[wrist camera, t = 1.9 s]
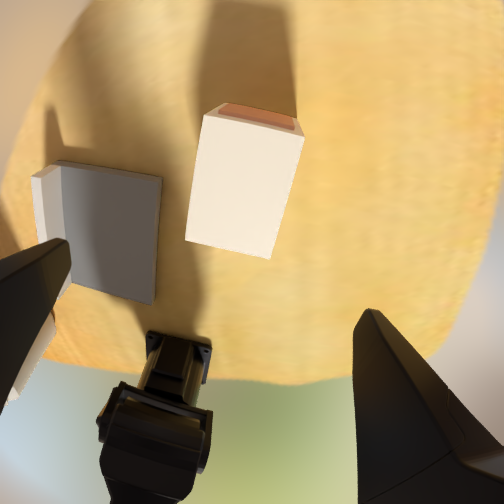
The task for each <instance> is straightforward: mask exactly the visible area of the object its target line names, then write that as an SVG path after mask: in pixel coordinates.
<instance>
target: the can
mask: <svg viewBox="0 0 504 504" xmlns="http://www.w3.org/2000/svg"><path fill="white" fill-rule="evenodd" d="M55 334H56V326H55V323H54V318H53V315H52V313H51V312H50V314H49V315H48V317H47V319H46V321H45V323H44V324H43V326H42V328H41V330H40V332H39V334H38V336H37V337H36V339H35V341H34V343H33V345H32V347H31V349H30V351H29V353H28V355H27V357H26V359H25V361H24V363H23V365H22V367H21V369H20V371H19V373H18V376H17V378H16V380H15V382H14V384H13V387H12V389H11V391H10V393H9V396H8V398H7V400H6V403H5V405H4V406H7V405H8V401H10V400H15V399H18V398H19V396H20V394H21V392H22V390H23V389H24V387H25V385H26V383H27V381H28V380H29V378H30V376H31V374H32V373H33V371H34V369H35V367H36V366H37V364H38V362H39V361H40V359H41V357H42V356H43V354H44V352H45V351H46V349H47V347H48V346H49V344H50V342H51V341H52V339H53V338H54V336H55Z"/></svg>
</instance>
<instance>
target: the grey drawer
mask: <svg viewBox="0 0 504 504" xmlns="http://www.w3.org/2000/svg"><path fill="white" fill-rule="evenodd" d="M162 182H163V177H157V176H152V175H146V174H141V173H135V172H130V171H124V170H118V169H112V168H106V167H100V166H93V165H87V164H81V163H74V162H67V161H60V160H58V161H56V162H54V163H52V164H51V165H49V166H47V167H46V168H44V169H42V170H41V171H39V172H37V173H36V174H34V175H32V176H31V185H32V196H33V206H34V214H35V222H36V229H37V235H38V242H39V244H41V243H43V242H46V241H48V240H51V239H54V238H62V239H65V240H67V241H68V242H69V245H70V253H71V261H72V266H71V270H70V272H69V274H68V276H67V278H66V280H65V282H64V284H63V286H62V289H61V291H60V293H59V295H58V297H57V300H59V299H60V298H61V296H62V295H63V294H64V292H65V291H66V290H67V288H68V287H69V286H70V284H71V283H75V284H78V285H81V286H85V287H88V288H91V289H94V290H98V291H101V292H105V293H108V294H112V295H115V296H119V297H122V298H126V299H129V300H133V301H137V302H140V303H144V304H148V305H152V304H153V302H154V299H155V287H156V262H157V243H158V228H159V215H160V203H161V192H162Z"/></svg>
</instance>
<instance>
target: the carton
mask: <svg viewBox="0 0 504 504" xmlns="http://www.w3.org/2000/svg"><path fill="white" fill-rule="evenodd" d="M304 140H305V136H304V133H303V131H302V129H301V127H300V124H299V122H298V120H297V119H296V118H292V117H291V116H287V115H283V114H279V113H275V112H271V111H266V110H262V109H257V108H253V107H248V106H243V105H238V104H233V103H223V104H222V105H220V106H218V107H216V108H215V109H213V110H211V111H210V112H208V113H206V114H205V115H204V117H203V122H202V128H201V133H200V139H199V145H198V151H197V157H196V163H195V170H194V176H193V183H192V190H191V197H190V204H189V211H188V218H187V226H186V234H185V240H186V241H191V242H195V243H199V244H204V245H208V246H213V247H217V248H222V249H226V250H231V251H235V252H239V253H244V254H248V255H253V256H257V257H262V258H266V259H270V257H271V254H272V250H273V247H274V244H275V240H276V237H277V234H278V230H279V227H280V223H281V220H282V216H283V213H284V210H285V206H286V203H287V199H288V196H289V192H290V189H291V185H292V182H293V178H294V175H295V171H296V168H297V164H298V161H299V157H300V154H301V150H302V147H303V143H304Z"/></svg>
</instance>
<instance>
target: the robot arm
mask: <svg viewBox="0 0 504 504" xmlns="http://www.w3.org/2000/svg"><path fill="white" fill-rule="evenodd" d="M71 266H72V261H71V253H70V245H69V242H68V241H67V240H65V239H62V238H54V239H51V240H48V241H46V242H43V243H41V244H38V245H35V246H33V247H30V248H28V249H25V250H23V251H20V252H18V253H16V254H13V255H11V256H8V257H6V258H4V259H1V260H0V415H1V413H2V410H3V408H4V405H5V403H6V400H7V398H8V396H9V393H10V391H11V389H12V387H13V384H14V382H15V380H16V378H17V376H18V373H19V371H20V369H21V367H22V365H23V363H24V361H25V359H26V357H27V355H28V353H29V351H30V349H31V347H32V345H33V343H34V341H35V339H36V337H37V336H38V334H39V332H40V330H41V328H42V326H43V324H44V323H45V321H46V319H47V317H48V315H49V314H50V312H51V310H52V308H53V306H54V304H55V302H56V299H57V297H58V295H59V293H60V291H61V289H62V286H63V284H64V282H65V280H66V278H67V276H68V274H69V272H70V270H71ZM211 353H212V347H211V346H209V345H206V344H201V343H197V342H193V341H189V340H184V339H180V338H176V337H172V336H168V335H165V334H161V333H157V332H153V331H148V332H147V334H146V355H147V362H146V364H145V367H144V370H143V372H142V375H141V378H140V380H139V383H138V386H137V388H136V387H133V386H131V385H128V384H126V382H123V381H121V382H120V384H119V386H118V387H115V388H113V390H112V393H111V395H110V398H109V400H108V402H107V403H106V405H105V406H104V408H103V409H102V411H101V412H100V414H99V415H98V417H97V419H96V424H97V425H98V427H99V442H101V443H104V444H103V448H102V451H101V455H100V459H99V462H100V467H101V472H102V475H103V476H104V479H105V482H106V485H107V488H108V491H109V494H110V496H111V501H110V504H177V503H178V502H179V501H182V500H184V498H186V497H187V495H188V494H189V493H190V492H191V490H192V488H193V485H194V480H195V477H196V473H199V474H201V473H202V472H203V471H204V468H205V466H206V463H207V459H208V456H209V452H210V446H211V433H212V419H213V411H210V410H204V409H200V408H196V404H197V399H198V395H199V390H200V385H201V384H205V383H206V378H207V373H208V368H209V363H210V358H211ZM352 374H353V392H354V406H355V420H356V439H357V440H356V441H357V469H358V470H357V471H358V504H504V446H502V445H501V444H500V443H499V442H498V441H497V440H496V439H495V438H494V437H493V436H492V435H491V434H490V432H489V431H488V430H487V429H486V428H485V427H484V426H483V425H482V424H481V423H480V422H479V421H478V420H477V419H476V418H475V417H474V416H473V415H472V414H471V413H470V412H469V410H468V409H467V408H466V407H465V406H464V405H463V404H462V403H461V401H460V400H459V399H458V398H457V397H456V396H455V395H454V393H453V392H452V391H451V390H450V389H448V386H447V385H446V384H445V383H444V382H443V380H442V379H441V378H440V377H439V376H438V375H437V374H436V372H435V371H434V370H433V369H432V368H431V367H430V366H429V364H428V363H427V362H426V361H425V360H424V359H423V358H422V357H421V355H420V354H419V353H418V352H417V351H416V350H415V349H414V348H413V346H412V345H411V344H410V343H409V342H408V341H407V340H406V339H405V338H404V337H403V335H402V334H401V333H400V332H399V331H398V330H397V329H396V328H395V327H394V326H393V325H392V323H391V322H390V321H389V320H388V319H387V318H386V317H385V316H384V315H383V314H382V313H381V312H380V311H379V310H375V309H370V308H368V309H366V310H365V311H364V312H363V314H362V316H361V317H360V319H359V321H358V323H357V324H356V326H355V328H354V331H353V371H352Z"/></svg>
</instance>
